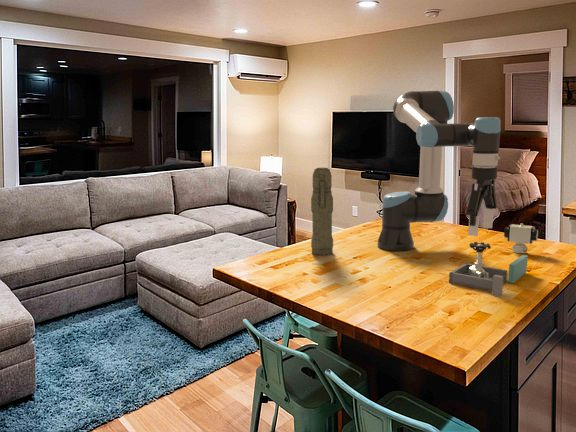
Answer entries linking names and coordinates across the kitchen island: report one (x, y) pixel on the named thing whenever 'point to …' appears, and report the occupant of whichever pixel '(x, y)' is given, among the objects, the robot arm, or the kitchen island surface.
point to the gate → (517, 268)
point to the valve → (478, 260)
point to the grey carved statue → (322, 212)
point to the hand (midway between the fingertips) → (480, 231)
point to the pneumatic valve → (520, 236)
